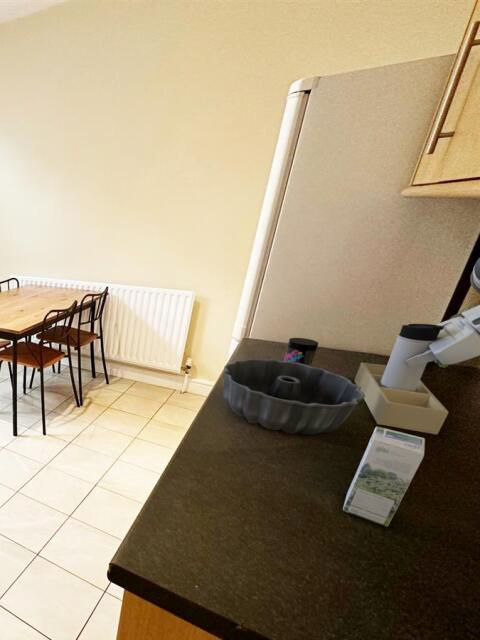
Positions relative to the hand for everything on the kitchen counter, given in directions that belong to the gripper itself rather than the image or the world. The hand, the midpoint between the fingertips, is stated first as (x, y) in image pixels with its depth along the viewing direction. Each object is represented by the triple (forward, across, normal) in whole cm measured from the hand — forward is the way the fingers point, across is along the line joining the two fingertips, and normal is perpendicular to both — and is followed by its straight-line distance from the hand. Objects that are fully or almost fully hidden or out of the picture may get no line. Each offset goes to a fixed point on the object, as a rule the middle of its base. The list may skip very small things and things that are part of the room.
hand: (405, 358), depth 99 cm
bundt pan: (+23, +23, -6) cm, 33 cm away
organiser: (+8, 0, +9) cm, 12 cm away
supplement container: (+22, -9, -5) cm, 25 cm away
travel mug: (+8, 0, +9) cm, 11 cm away
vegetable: (-2, -40, +19) cm, 45 cm away
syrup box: (+13, +53, +5) cm, 55 cm away
